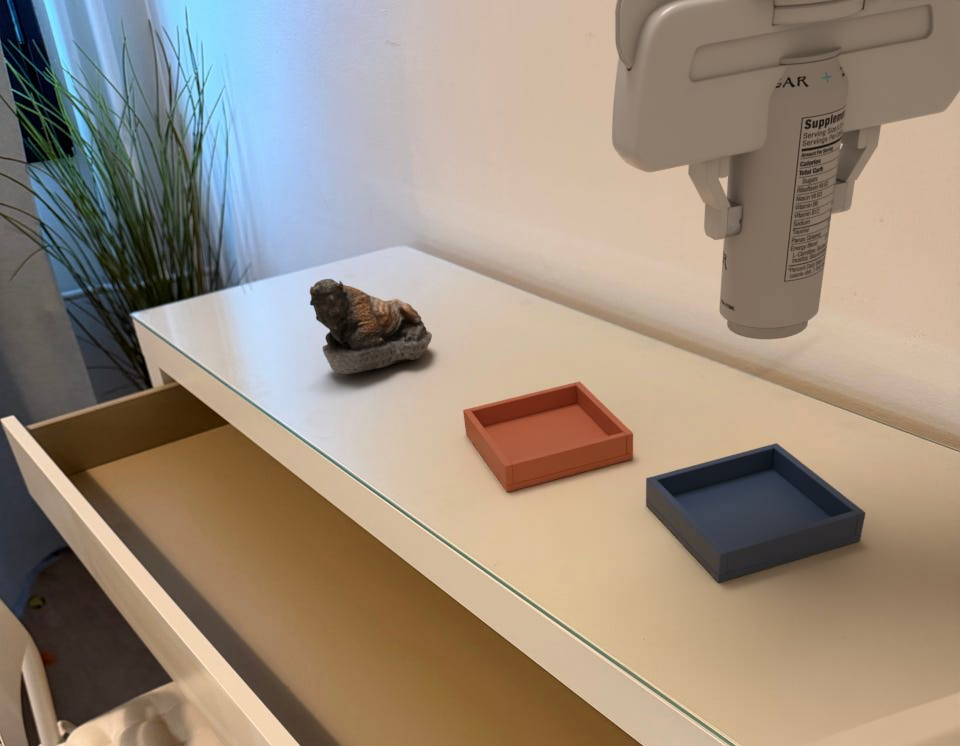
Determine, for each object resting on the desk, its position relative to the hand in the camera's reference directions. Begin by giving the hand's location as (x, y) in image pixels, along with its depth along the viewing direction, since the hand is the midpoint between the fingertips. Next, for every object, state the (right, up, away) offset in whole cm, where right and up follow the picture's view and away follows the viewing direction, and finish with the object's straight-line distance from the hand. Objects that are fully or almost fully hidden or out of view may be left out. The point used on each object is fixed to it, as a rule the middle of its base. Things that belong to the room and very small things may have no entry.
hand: (777, 223), depth 55 cm
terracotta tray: (-12, -8, +25) cm, 29 cm away
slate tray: (+2, -16, +14) cm, 21 cm away
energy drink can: (+1, -5, +4) cm, 6 cm away
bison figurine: (-28, +3, +42) cm, 50 cm away
